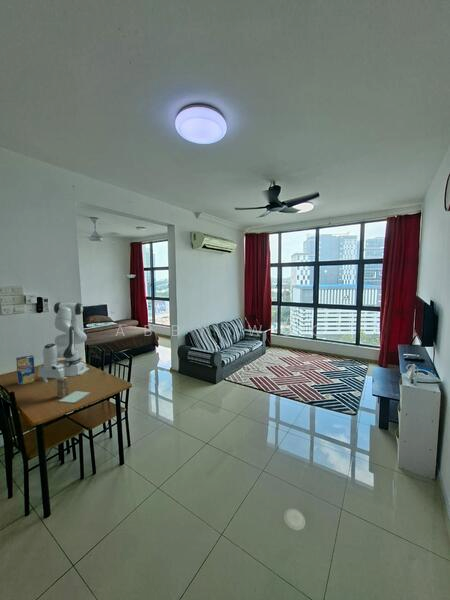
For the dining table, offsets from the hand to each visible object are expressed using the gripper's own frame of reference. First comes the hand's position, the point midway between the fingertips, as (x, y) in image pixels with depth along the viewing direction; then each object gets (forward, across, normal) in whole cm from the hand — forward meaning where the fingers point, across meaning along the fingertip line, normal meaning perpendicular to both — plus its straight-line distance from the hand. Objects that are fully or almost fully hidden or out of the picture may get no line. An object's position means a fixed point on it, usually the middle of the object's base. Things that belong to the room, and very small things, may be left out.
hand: (51, 382), depth 186 cm
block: (+10, +10, 0) cm, 14 cm away
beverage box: (+10, -41, +16) cm, 45 cm away
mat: (+10, +20, 0) cm, 22 cm away
